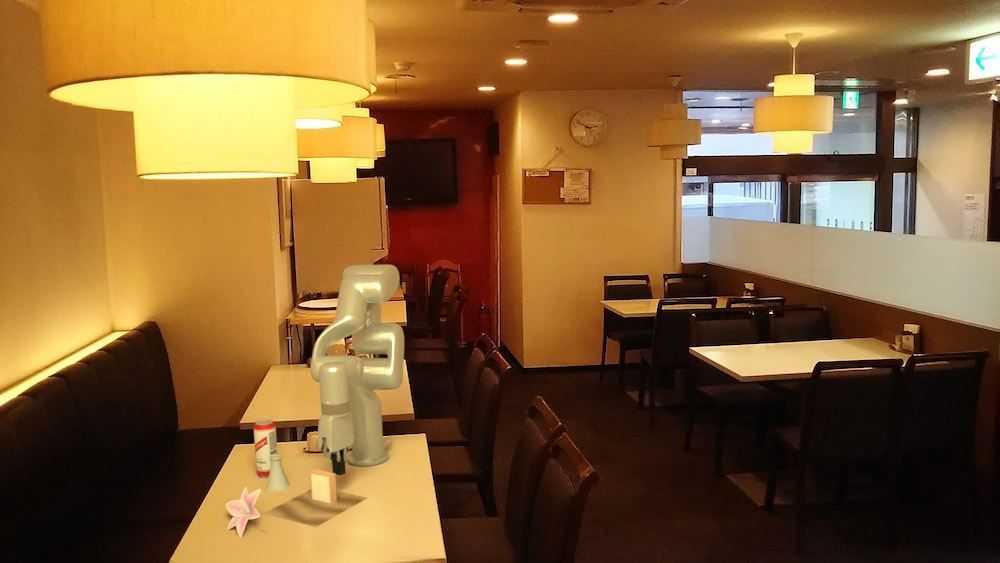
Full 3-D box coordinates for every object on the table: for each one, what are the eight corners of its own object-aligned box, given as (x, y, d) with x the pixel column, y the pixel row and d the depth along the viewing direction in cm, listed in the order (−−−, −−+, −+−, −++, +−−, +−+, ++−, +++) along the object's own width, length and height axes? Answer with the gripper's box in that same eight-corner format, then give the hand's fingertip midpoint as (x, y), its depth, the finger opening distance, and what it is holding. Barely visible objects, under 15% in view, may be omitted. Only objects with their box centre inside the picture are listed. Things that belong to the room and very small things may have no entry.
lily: (228, 522, 211) (211, 498, 206) (270, 498, 214) (255, 474, 209) (238, 553, 202) (221, 529, 197) (282, 528, 205) (266, 503, 200)
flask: (283, 496, 225) (281, 461, 223) (259, 495, 226) (257, 460, 225) (295, 486, 232) (293, 452, 230) (271, 485, 233) (269, 451, 232)
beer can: (268, 479, 238) (265, 426, 235) (252, 476, 240) (248, 423, 238) (283, 472, 243) (279, 419, 241) (266, 469, 246) (263, 417, 244)
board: (317, 490, 228) (316, 486, 228) (367, 502, 219) (367, 497, 219) (263, 517, 211) (263, 513, 211) (316, 531, 202) (315, 526, 202)
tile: (316, 497, 220) (315, 469, 219) (336, 502, 217) (335, 473, 216) (311, 500, 218) (309, 471, 217) (331, 505, 215) (329, 476, 214)
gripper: (343, 399, 228) (346, 462, 231) (305, 413, 215) (309, 480, 218) (364, 402, 224) (367, 467, 227) (327, 417, 212) (331, 485, 214)
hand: (339, 473), depth 222 cm, fingers closed
